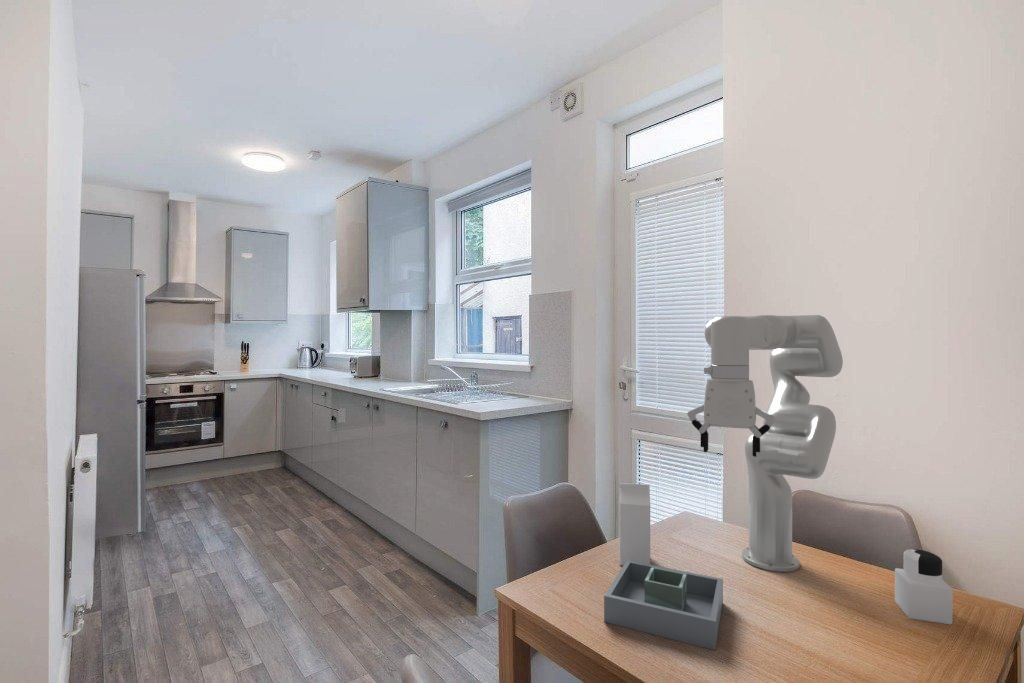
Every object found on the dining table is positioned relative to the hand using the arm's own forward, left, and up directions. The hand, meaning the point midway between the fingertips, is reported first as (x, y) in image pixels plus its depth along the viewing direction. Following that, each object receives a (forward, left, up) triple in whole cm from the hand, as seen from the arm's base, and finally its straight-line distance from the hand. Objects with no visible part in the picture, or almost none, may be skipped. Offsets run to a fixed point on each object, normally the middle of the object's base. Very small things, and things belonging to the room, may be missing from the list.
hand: (729, 453), depth 109 cm
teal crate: (+14, -11, -29) cm, 34 cm away
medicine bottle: (-9, +35, -30) cm, 47 cm away
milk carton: (-7, -22, -30) cm, 38 cm away
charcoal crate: (+14, -11, -30) cm, 35 cm away
